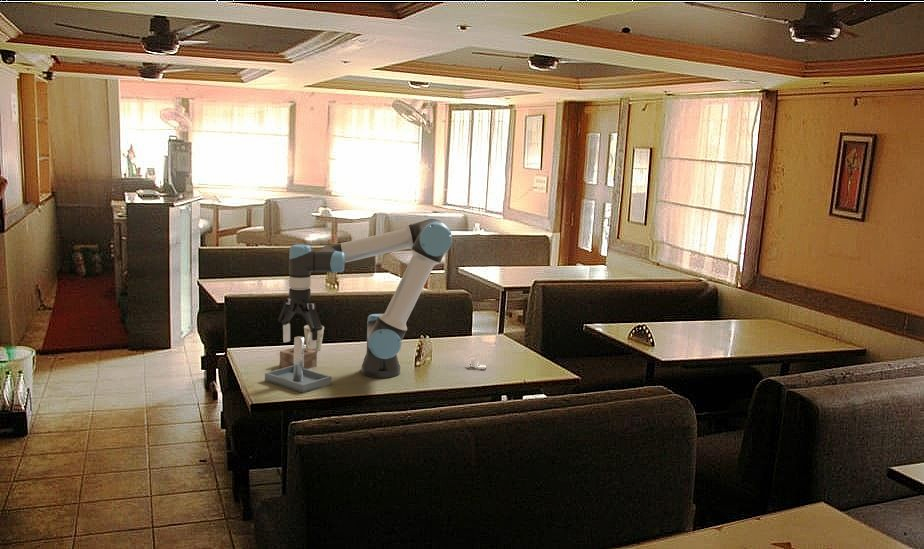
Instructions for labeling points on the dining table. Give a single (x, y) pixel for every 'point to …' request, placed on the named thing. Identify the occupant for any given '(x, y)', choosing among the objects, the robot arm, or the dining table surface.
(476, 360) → the teacup and saucer
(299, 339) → the steel pin
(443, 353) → the dining table surface
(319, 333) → the mug
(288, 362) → the wooden hollow square frame
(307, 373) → the slate tray
